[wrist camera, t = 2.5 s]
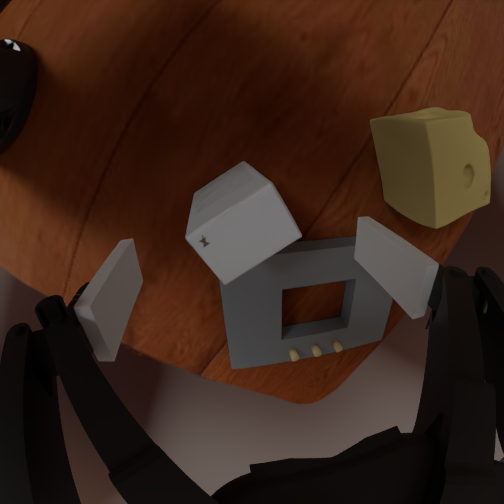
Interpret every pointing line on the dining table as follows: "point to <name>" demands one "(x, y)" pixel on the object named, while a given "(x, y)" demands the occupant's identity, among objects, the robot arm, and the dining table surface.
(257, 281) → the grey frame plate
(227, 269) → the skincare box
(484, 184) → the cheese
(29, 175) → the dining table surface
